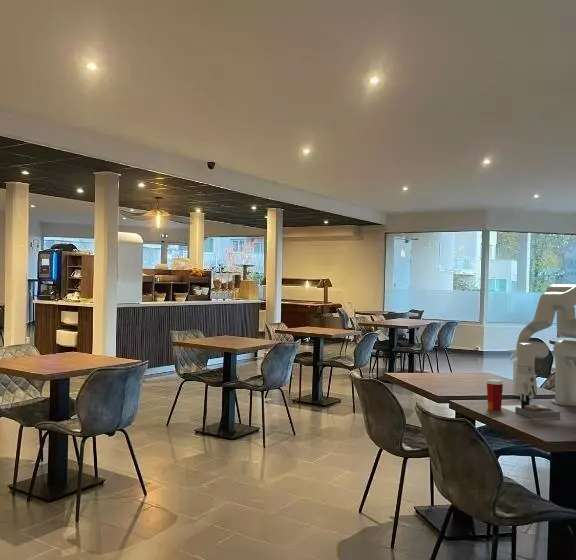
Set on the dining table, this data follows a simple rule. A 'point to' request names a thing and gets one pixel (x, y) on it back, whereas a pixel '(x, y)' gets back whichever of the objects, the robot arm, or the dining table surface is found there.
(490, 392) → the paper cup
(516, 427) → the dining table surface
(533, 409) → the white wood-edged tile
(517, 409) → the dock bay
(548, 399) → the dining table surface
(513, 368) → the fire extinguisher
